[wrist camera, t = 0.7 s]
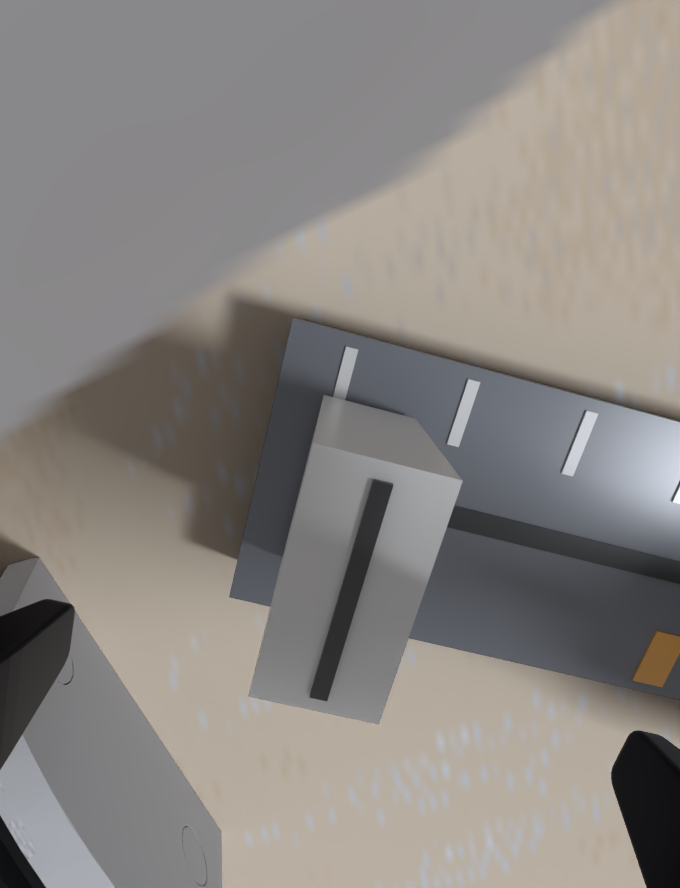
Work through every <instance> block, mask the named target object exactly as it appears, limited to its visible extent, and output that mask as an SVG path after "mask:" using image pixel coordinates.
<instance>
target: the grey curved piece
mask: <svg viewBox="0 0 680 888" xmlns="http://www.w3.org/2000/svg"><path fill="white" fill-rule="evenodd" d="M44 599H53V600H57V601H62V602H66V603H70V602H69V601H68V599H67V598H66V596H65V595H64V593H63V592H62V590H61V589H60V587H59V586H58V584H57V583H56V581H55V580H54V578H53V577H52V575H51V574H50V572H49V571H48V569H47V568H46V566H45V565H44V563H43V562H42V560H41V559H40V557H38V558H32V559H27V560H24V561H20V562H17V563H13V564H10V565H8V566H7V568H6V570H5V571H4V573H3V574H2V576H1V578H0V616H1V615H4V614H7V613H9V612H12V611H14V610H17V609H20V608H22V607H25V606H27V605H30V604H32V603H35V602H38V601H40V600H44ZM0 888H222V845H221V830H220V828H219V827H218V825H217V824H216V822H215V821H214V819H213V818H212V816H211V815H210V813H209V812H208V810H207V809H206V807H205V806H204V804H203V803H202V801H201V800H200V798H199V797H198V795H197V794H196V792H195V791H194V789H193V788H192V786H191V785H190V783H189V782H188V780H187V779H186V777H185V776H184V774H183V773H182V771H181V770H180V768H179V767H178V765H177V764H176V762H175V761H174V759H173V758H172V756H171V755H170V753H169V751H168V750H167V748H166V747H165V745H164V744H163V742H162V741H161V739H160V738H159V736H158V735H157V733H156V732H155V730H154V729H153V727H152V726H151V724H150V723H149V721H148V720H147V718H146V717H145V715H144V714H143V712H142V711H141V709H140V708H139V706H138V705H137V703H136V702H135V700H134V699H133V697H132V696H131V694H130V693H129V691H128V690H127V688H126V687H125V685H124V684H123V682H122V681H121V679H120V678H119V676H118V675H117V673H116V672H115V670H114V669H113V667H112V666H111V664H110V663H109V661H108V660H107V658H106V657H105V655H104V654H103V652H102V651H101V649H100V648H99V646H98V645H97V643H96V642H95V640H94V639H93V637H92V636H91V634H90V633H89V631H88V630H87V628H86V627H85V625H84V624H83V622H82V620H81V619H80V617H79V616H78V614H77V613H76V611H75V617H74V624H73V632H72V639H71V647H70V652H69V656H68V658H67V661H66V663H65V665H64V667H63V669H62V670H61V672H60V674H59V675H58V677H57V678H56V680H55V682H54V683H53V685H52V687H51V688H50V690H49V692H48V693H47V695H46V697H45V698H44V700H43V701H42V703H41V705H40V706H39V708H38V710H37V711H36V713H35V715H34V716H33V718H32V720H31V721H30V723H29V725H28V726H27V728H26V729H25V731H24V733H23V734H22V736H21V738H20V739H19V741H18V743H17V744H16V746H15V748H14V749H13V751H12V753H11V754H10V756H9V757H8V759H7V760H6V762H5V764H4V765H3V767H2V768H1V770H0Z"/></svg>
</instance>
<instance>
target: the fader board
mask: <svg viewBox="0 0 680 888" xmlns="http://www.w3.org/2000/svg"><path fill="white" fill-rule="evenodd" d="M324 395H327V396H331V397H334V398H338V399H342V400H346V401H350V402H354V403H358V404H361V405H365V406H369V407H373V408H377V409H381V410H385V411H388V412H392V413H396V414H400V415H404V416H408V417H412V418H415V419H416V420H417V421H418V422H419V424H420V425H421V426H422V428H423V429H424V430H425V432H426V433H427V434H428V436H429V437H430V438H431V440H432V441H433V442H434V443H435V445H436V446H437V447H438V449H439V450H440V451H441V453H442V454H443V455H444V457H445V458H446V459H447V460H448V462H449V463H450V464H451V466H452V467H453V468H454V470H455V471H456V472H457V474H458V475H459V476H460V478H461V479H462V480H463V482H462V485H461V488H460V491H459V494H458V496H457V499H456V502H455V505H454V508H453V511H452V514H451V517H450V520H449V522H448V525H447V528H446V531H445V534H444V537H443V540H442V543H441V546H440V548H439V551H438V554H437V557H436V560H435V563H434V566H433V569H432V572H431V575H430V577H429V580H428V583H427V586H426V589H425V592H424V595H423V598H422V601H421V603H420V606H419V609H418V612H417V615H416V618H415V621H414V624H413V627H412V630H411V632H410V635H409V638H410V639H415V640H419V641H424V642H428V643H432V644H437V645H441V646H446V647H450V648H454V649H459V650H463V651H467V652H472V653H476V654H481V655H485V656H489V657H494V658H498V659H503V660H507V661H511V662H516V663H520V664H524V665H529V666H533V667H538V668H542V669H546V670H551V671H555V672H559V673H564V674H568V675H573V676H577V677H581V678H586V679H590V680H595V681H599V682H603V683H608V684H612V685H616V686H621V687H625V688H630V689H634V690H638V691H643V692H647V693H651V694H656V695H660V696H665V697H669V698H673V699H678V700H680V421H678V420H675V419H671V418H667V417H664V416H660V415H656V414H652V413H649V412H645V411H641V410H638V409H634V408H630V407H626V406H623V405H619V404H615V403H612V402H608V401H604V400H600V399H597V398H593V397H589V396H585V395H582V394H578V393H574V392H571V391H567V390H563V389H559V388H556V387H552V386H548V385H545V384H541V383H537V382H533V381H530V380H526V379H522V378H519V377H515V376H511V375H507V374H504V373H500V372H496V371H492V370H489V369H485V368H481V367H478V366H474V365H470V364H466V363H463V362H459V361H455V360H452V359H448V358H444V357H440V356H437V355H433V354H429V353H425V352H422V351H418V350H414V349H411V348H407V347H403V346H399V345H396V344H392V343H388V342H385V341H381V340H377V339H373V338H370V337H366V336H362V335H359V334H355V333H351V332H347V331H344V330H340V329H336V328H332V327H329V326H325V325H321V324H318V323H314V322H310V321H306V320H303V319H296V318H293V319H292V324H291V328H290V333H289V337H288V341H287V346H286V350H285V354H284V359H283V363H282V368H281V372H280V376H279V381H278V385H277V390H276V394H275V398H274V403H273V407H272V411H271V416H270V420H269V425H268V429H267V433H266V438H265V442H264V447H263V451H262V455H261V460H260V464H259V469H258V473H257V477H256V482H255V486H254V490H253V495H252V499H251V504H250V508H249V512H248V517H247V521H246V526H245V530H244V534H243V539H242V543H241V548H240V552H239V556H238V561H237V565H236V569H235V574H234V578H233V583H232V587H231V591H230V596H229V597H231V598H235V599H240V600H244V601H248V602H253V603H257V604H262V605H266V606H271V602H272V598H273V594H274V590H275V586H276V582H277V578H278V574H279V569H280V565H281V561H282V557H283V553H284V550H285V546H286V542H287V538H288V534H289V530H290V526H291V522H292V518H293V514H294V510H295V506H296V502H297V498H298V494H299V490H300V487H301V483H302V479H303V475H304V471H305V467H306V463H307V459H308V455H309V451H310V447H311V443H312V439H313V435H314V431H315V428H316V424H317V420H318V416H319V412H320V408H321V404H322V400H323V396H324Z"/></svg>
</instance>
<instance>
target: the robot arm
mask: <svg viewBox="0 0 680 888" xmlns="http://www.w3.org/2000/svg"><path fill="white" fill-rule="evenodd" d="M74 617H75V609H74V606H73V605H72V604H70V603H66V602H62V601H57V600H53V599H44V600H40V601H38V602H35V603H32V604H30V605H27V606H25V607H22V608H20V609H17V610H14V611H12V612H9V613H7V614H4V615H1V616H0V770H1V768H2V767H3V765H4V764H5V762H6V760H7V759H8V757H9V756H10V754H11V753H12V751H13V749H14V748H15V746H16V744H17V743H18V741H19V739H20V738H21V736H22V734H23V733H24V731H25V729H26V728H27V726H28V725H29V723H30V721H31V720H32V718H33V716H34V715H35V713H36V711H37V710H38V708H39V706H40V705H41V703H42V701H43V700H44V698H45V697H46V695H47V693H48V692H49V690H50V688H51V687H52V685H53V683H54V682H55V680H56V678H57V677H58V675H59V674H60V672H61V670H62V669H63V667H64V665H65V663H66V661H67V658H68V656H69V652H70V647H71V639H72V632H73V624H74ZM611 780H612V785H613V789H614V792H615V795H616V798H617V801H618V804H619V807H620V810H621V813H622V816H623V819H624V822H625V825H626V828H627V831H628V834H629V837H630V840H631V843H632V846H633V848H634V851H635V854H636V857H637V860H638V863H639V866H640V869H641V872H642V875H643V878H644V881H645V884H646V887H647V888H680V749H678V748H677V747H676V746H674V745H673V744H672V743H670V742H669V741H668V740H667V739H665V738H664V737H662V736H660V735H657V734H652V733H648V732H643V731H633V732H632V733H631V734H629V736H628V737H627V739H626V741H625V743H624V745H623V747H622V749H621V751H620V753H619V755H618V757H617V759H616V761H615V763H614V765H613V767H612V772H611Z"/></svg>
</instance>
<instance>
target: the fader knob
mask: <svg viewBox="0 0 680 888" xmlns="http://www.w3.org/2000/svg"><path fill="white" fill-rule="evenodd" d="M462 482H463V480H462V479H461V478H460V476H459V475H458V474H457V472H456V471H455V470H454V468H453V467H452V466H451V464H450V463H449V462H448V460H447V459H446V458H445V457H444V455H443V454H442V453H441V451H440V450H439V449H438V447H437V446H436V445H435V443H434V442H433V441H432V440H431V438H430V437H429V436H428V434H427V433H426V432H425V430H424V429H423V428H422V426H421V425H420V424H419V422H418V421H417V420H416V419H415V418H412V417H408V416H404V415H400V414H396V413H392V412H388V411H385V410H381V409H377V408H373V407H369V406H365V405H361V404H358V403H354V402H350V401H346V400H342V399H338V398H334V397H331V396H327V395H324V396H323V400H322V404H321V408H320V412H319V416H318V420H317V424H316V428H315V431H314V435H313V439H312V443H311V447H310V451H309V455H308V459H307V463H306V467H305V471H304V475H303V479H302V483H301V487H300V490H299V494H298V498H297V502H296V506H295V510H294V514H293V518H292V522H291V526H290V530H289V534H288V538H287V542H286V546H285V550H284V553H283V557H282V561H281V565H280V569H279V574H278V578H277V582H276V586H275V590H274V594H273V598H272V602H271V606H270V610H269V614H268V619H267V623H266V627H265V631H264V635H263V639H262V643H261V647H260V651H259V655H258V659H257V664H256V668H255V672H254V676H253V680H252V684H251V688H250V692H249V697H254V698H258V699H263V700H268V701H272V702H277V703H282V704H286V705H291V706H296V707H300V708H305V709H310V710H314V711H319V712H323V713H328V714H333V715H337V716H342V717H347V718H351V719H356V720H361V721H365V722H370V723H375V724H379V722H380V719H381V716H382V713H383V711H384V708H385V705H386V702H387V699H388V696H389V693H390V690H391V687H392V684H393V682H394V679H395V676H396V673H397V670H398V667H399V664H400V661H401V658H402V656H403V653H404V650H405V647H406V644H407V641H408V638H409V635H410V632H411V630H412V627H413V624H414V621H415V618H416V615H417V612H418V609H419V606H420V603H421V601H422V598H423V595H424V592H425V589H426V586H427V583H428V580H429V577H430V575H431V572H432V569H433V566H434V563H435V560H436V557H437V554H438V551H439V548H440V546H441V543H442V540H443V537H444V534H445V531H446V528H447V525H448V522H449V520H450V517H451V514H452V511H453V508H454V505H455V502H456V499H457V496H458V494H459V491H460V488H461V485H462Z"/></svg>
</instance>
